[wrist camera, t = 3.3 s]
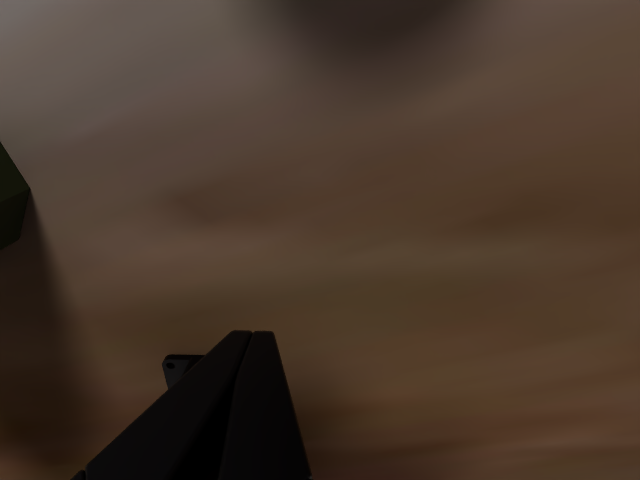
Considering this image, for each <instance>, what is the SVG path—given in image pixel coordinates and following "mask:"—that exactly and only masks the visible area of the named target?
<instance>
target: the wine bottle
mask: <svg viewBox="0 0 640 480" xmlns="http://www.w3.org/2000/svg"><path fill="white" fill-rule="evenodd" d="M29 190H30V188H29V186H28V185H27V183H26V182H25V180H24V178H23V177H22V175H21V174H20V172H19V171H18V169H17V168H16V166H15V164H14V163H13V161H12V160H11V158H10V157H9V155H8V154H7V152H6V150H5V149H4V147H3V146H2V144H1V143H0V250H2V249H3V248H5V247H7V246H8V245H10V244H12V243H13V242H15V241H17V240H18V239H19V235H20V231H21V226H22V222H23V217H24V213H25V208H26V203H27V199H28V194H29Z"/></svg>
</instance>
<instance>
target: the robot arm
mask: <svg viewBox="0 0 640 480" xmlns="http://www.w3.org/2000/svg"><path fill="white" fill-rule="evenodd" d="M172 363H173V364H172ZM162 367H163V371H164V374H165V378H166V382H167V386H168V390H167V391H166V392H165V393H164V394H163V395H162V396H161V397H160V398H158V399H157V400H156V401H155V402H154V403H153V404H152V405H151V406H150V407H149V408H148V409H147V410H145V411H144V412H143V413H142V414H141V415H140V416H139V417H138V418H137V419H136V420H135V421H134V422H132V423H131V424H130V425H129V426H128V427H127V428H126V429H125V430H124V431H123V432H122V433H121V434H119V435H118V436H117V437H116V438H115V439H114V440H113V441H112V442H111V443H110V444H109V445H108V446H106V447H105V448H104V449H103V450H102V451H101V452H100V453H99V454H98V455H97V456H96V457H95V458H93V459H92V460H91V461H90V462H89V463H88V464H87V465H86V466H85V471H84V470H81V471H79V472H78V473H77V474H76V475H75V476H74V477H73V478H72V479H70V480H313V479H312V473H311V469H310V465H309V462H308V458H307V454H306V450H305V447H304V443H303V439H302V436H301V432H300V428H299V424H298V421H297V417H296V413H295V410H294V406H293V402H292V398H291V395H290V391H289V387H288V384H287V380H286V376H285V372H284V369H283V365H282V361H281V357H280V354H279V350H278V346H277V343H276V339H275V335H274V333H273V332H272V331H255V332H253V333H252V332H251V331H247V330H234V331H231V332H230V333H229V334H228V335H227V336H226V337H224V338H223V339H222V340H221V341H220V342H219V343H218V344H217V345H216V346H215V347H214V348H213V349H212V350H210V351H209V352H208V353H207V354H206V355H167V356H166V357H165V359H164V361H163V363H162Z"/></svg>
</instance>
